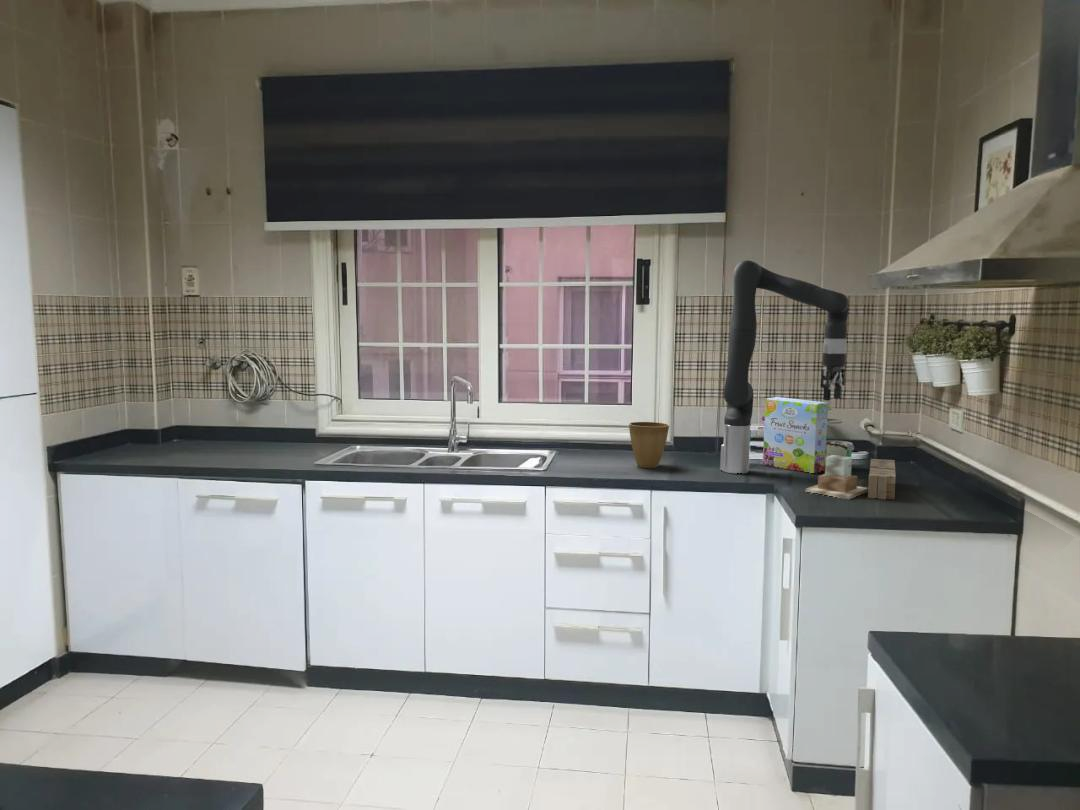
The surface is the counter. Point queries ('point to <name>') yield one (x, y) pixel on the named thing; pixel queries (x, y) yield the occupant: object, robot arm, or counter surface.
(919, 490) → the counter surface
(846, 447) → the food container
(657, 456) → the plant pot
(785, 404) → the snack box
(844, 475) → the sage cube
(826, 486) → the base board
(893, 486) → the block tower
